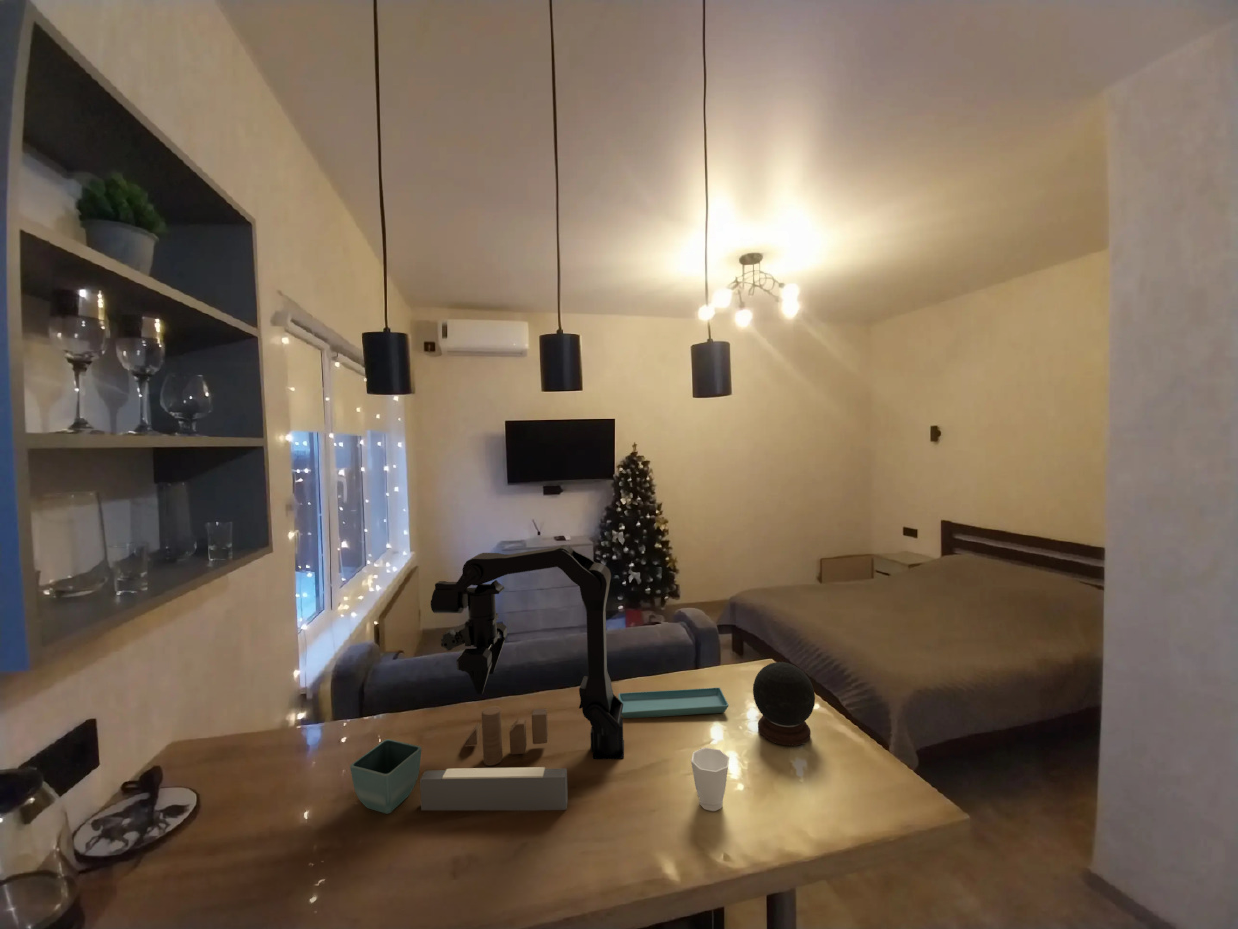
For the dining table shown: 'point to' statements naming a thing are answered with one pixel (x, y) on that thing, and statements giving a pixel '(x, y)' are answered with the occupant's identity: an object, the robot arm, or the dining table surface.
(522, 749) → the wooden block set
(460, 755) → the dining table surface
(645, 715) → the shallow long dish
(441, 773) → the board
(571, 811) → the dining table surface
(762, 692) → the ball on wooden stand
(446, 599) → the robot arm
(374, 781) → the flower pot
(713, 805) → the cup
